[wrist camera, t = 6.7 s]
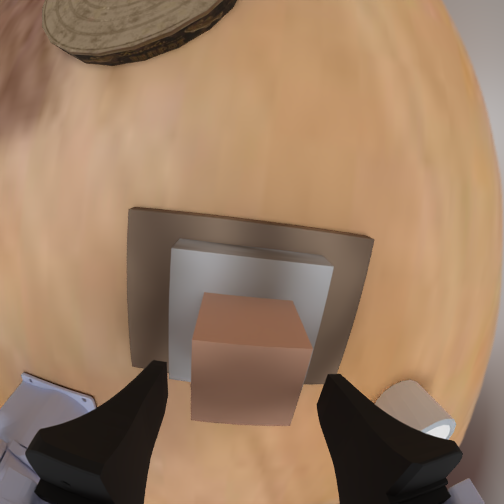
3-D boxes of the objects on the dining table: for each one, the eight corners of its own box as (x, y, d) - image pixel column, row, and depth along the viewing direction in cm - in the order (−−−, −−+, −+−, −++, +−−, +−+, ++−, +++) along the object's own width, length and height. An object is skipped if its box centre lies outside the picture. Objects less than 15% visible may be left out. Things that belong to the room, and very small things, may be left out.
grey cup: (355, 423, 24) (377, 472, 18) (388, 372, 23) (422, 422, 16) (402, 422, 25) (427, 463, 19) (434, 376, 24) (468, 416, 17)
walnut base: (136, 357, 21) (123, 385, 18) (134, 207, 18) (113, 214, 15) (329, 375, 22) (341, 403, 19) (367, 235, 19) (391, 248, 16)
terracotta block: (200, 363, 17) (190, 419, 12) (204, 292, 16) (191, 339, 11) (278, 369, 18) (290, 425, 13) (292, 300, 16) (312, 348, 12)
